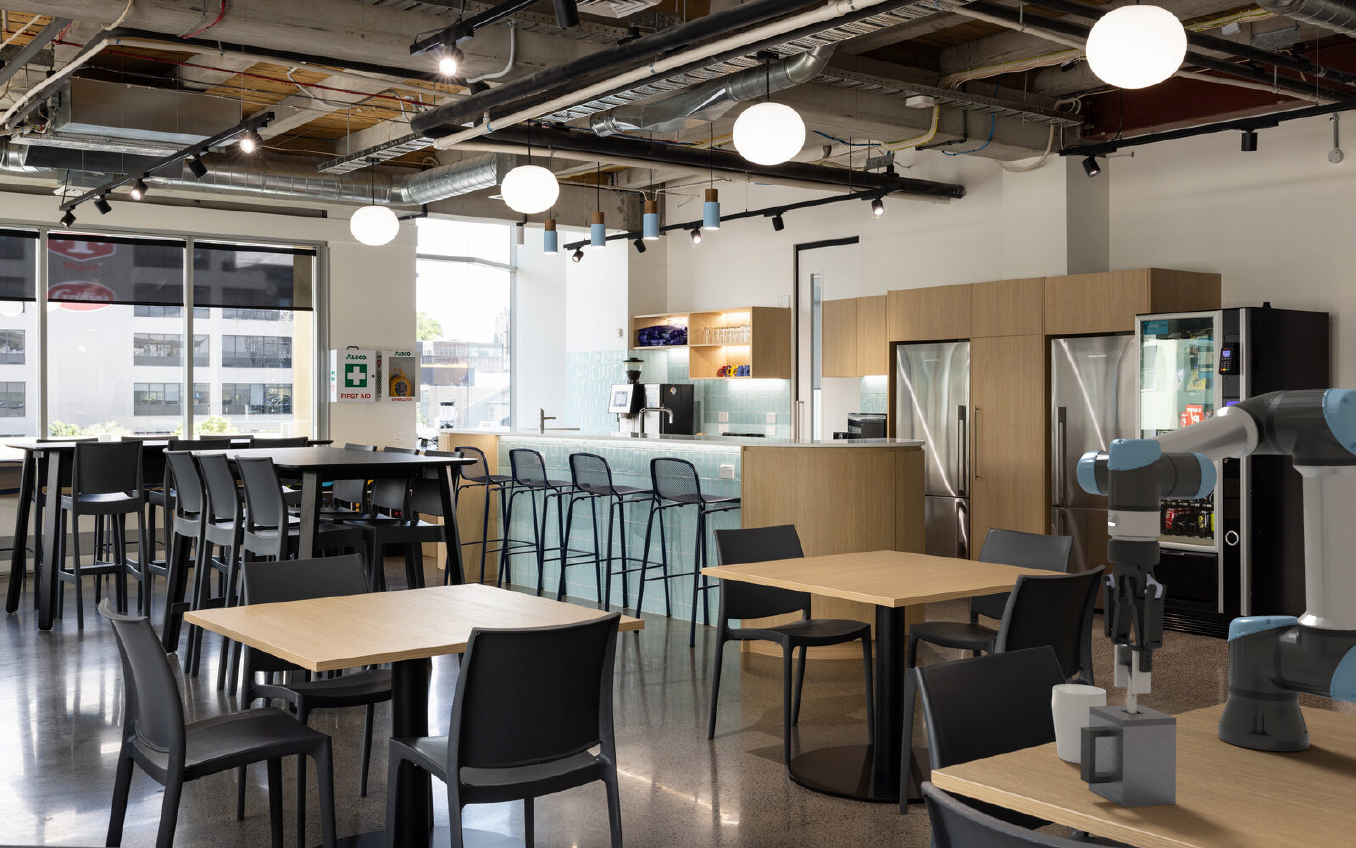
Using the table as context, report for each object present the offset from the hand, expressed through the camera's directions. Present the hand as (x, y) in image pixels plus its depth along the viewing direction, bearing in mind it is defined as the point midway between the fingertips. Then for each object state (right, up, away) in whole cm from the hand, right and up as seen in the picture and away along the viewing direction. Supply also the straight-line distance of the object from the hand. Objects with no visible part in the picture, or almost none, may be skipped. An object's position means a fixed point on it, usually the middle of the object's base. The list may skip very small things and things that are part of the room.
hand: (1132, 689), depth 178 cm
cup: (-1, -17, +21) cm, 27 cm away
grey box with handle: (-2, -17, -1) cm, 17 cm away
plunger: (0, -14, 0) cm, 14 cm away
